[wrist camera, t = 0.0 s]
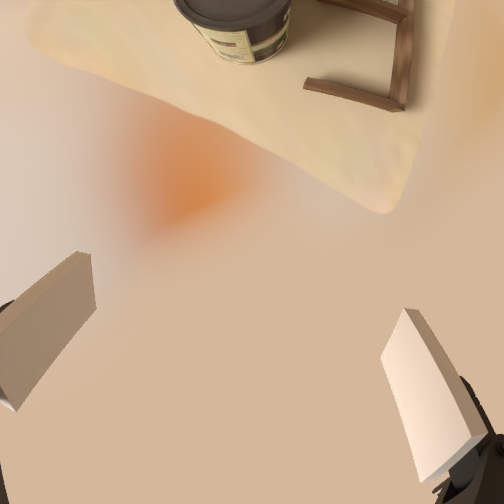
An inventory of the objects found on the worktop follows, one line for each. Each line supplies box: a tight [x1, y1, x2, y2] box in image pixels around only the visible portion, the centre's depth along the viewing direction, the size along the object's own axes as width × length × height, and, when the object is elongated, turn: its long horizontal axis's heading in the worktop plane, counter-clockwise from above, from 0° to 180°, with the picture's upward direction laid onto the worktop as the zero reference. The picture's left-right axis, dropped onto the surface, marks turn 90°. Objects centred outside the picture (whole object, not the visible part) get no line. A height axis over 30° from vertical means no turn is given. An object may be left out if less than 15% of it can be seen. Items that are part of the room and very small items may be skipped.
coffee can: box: [174, 0, 292, 65], centre depth 23 cm, size 10×10×14 cm
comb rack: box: [303, 0, 415, 112], centre depth 26 cm, size 23×12×4 cm, turn 171°
